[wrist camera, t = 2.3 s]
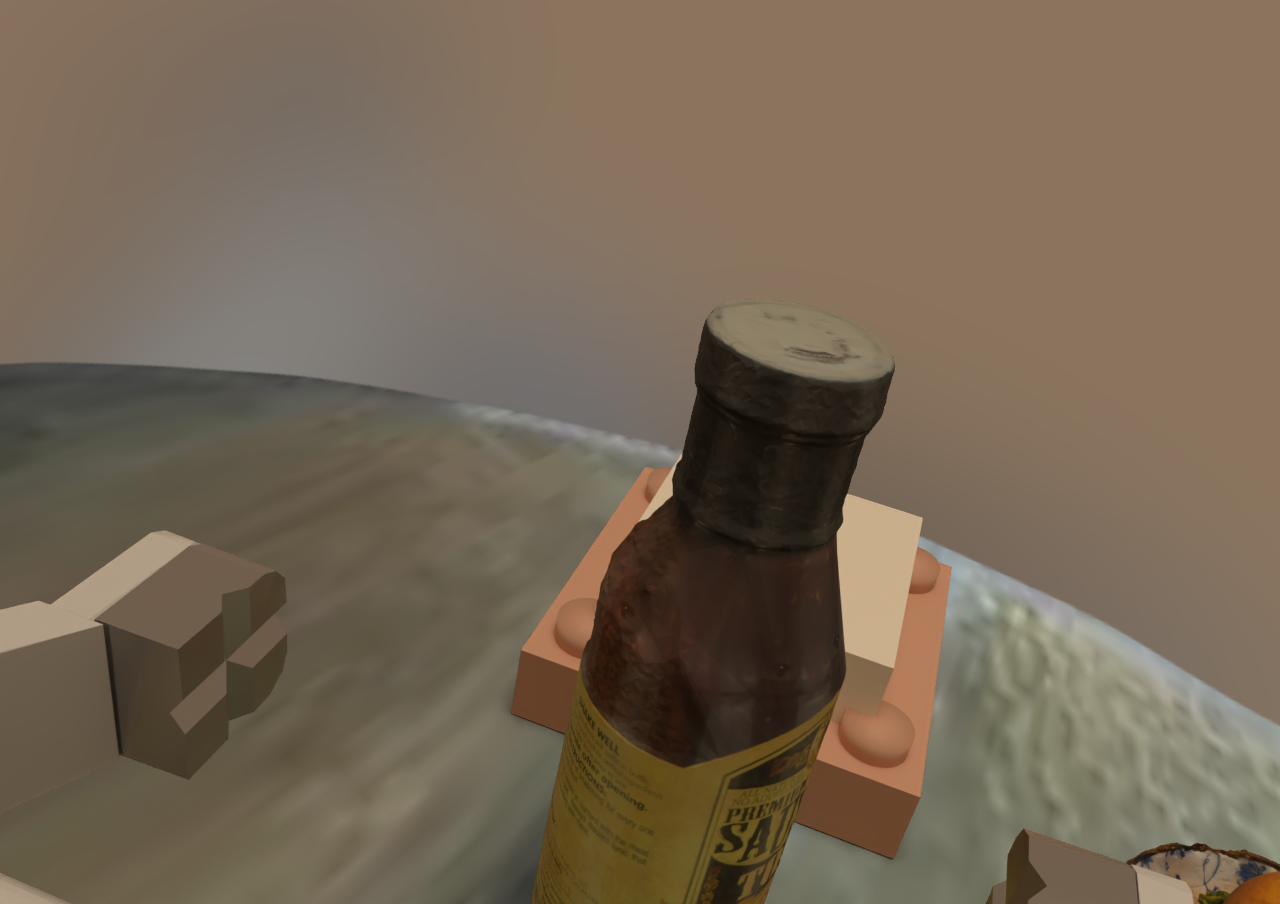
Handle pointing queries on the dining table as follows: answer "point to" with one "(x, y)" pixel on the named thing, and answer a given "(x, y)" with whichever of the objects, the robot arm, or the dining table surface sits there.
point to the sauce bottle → (719, 626)
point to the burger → (1216, 873)
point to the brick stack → (874, 650)
